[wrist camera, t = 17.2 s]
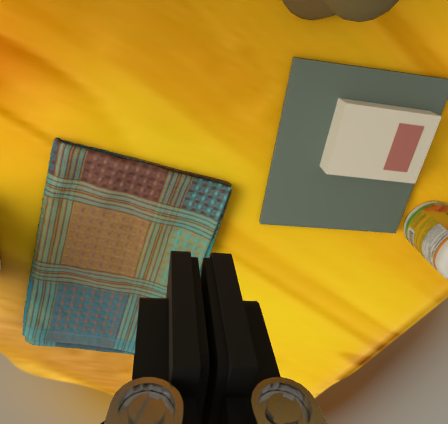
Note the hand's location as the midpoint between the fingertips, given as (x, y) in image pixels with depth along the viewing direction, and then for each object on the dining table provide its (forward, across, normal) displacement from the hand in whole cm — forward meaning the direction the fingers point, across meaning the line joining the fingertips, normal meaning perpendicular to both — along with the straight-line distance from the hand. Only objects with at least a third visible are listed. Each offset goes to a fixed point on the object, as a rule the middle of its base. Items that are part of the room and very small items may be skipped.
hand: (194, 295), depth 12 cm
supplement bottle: (+27, -28, +11) cm, 41 cm away
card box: (+25, -14, +2) cm, 29 cm away
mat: (+27, -17, +4) cm, 32 cm away
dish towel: (+28, +4, +18) cm, 34 cm away
